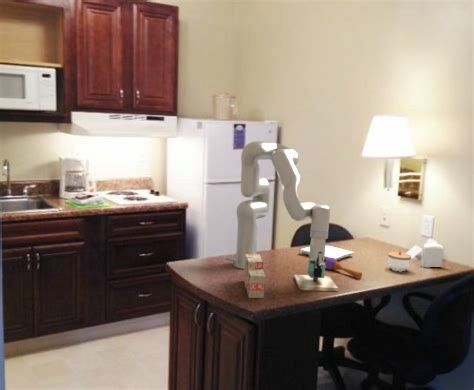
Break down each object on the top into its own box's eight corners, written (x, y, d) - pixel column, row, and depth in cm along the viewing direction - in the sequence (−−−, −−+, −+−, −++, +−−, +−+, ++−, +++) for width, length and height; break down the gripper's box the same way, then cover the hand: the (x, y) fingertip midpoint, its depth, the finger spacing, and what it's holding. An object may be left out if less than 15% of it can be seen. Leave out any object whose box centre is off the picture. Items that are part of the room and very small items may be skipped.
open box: (310, 277, 213) (311, 264, 212) (307, 273, 219) (308, 260, 218) (324, 278, 214) (325, 264, 213) (321, 274, 219) (322, 260, 219)
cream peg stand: (299, 289, 209) (301, 267, 207) (293, 277, 224) (295, 257, 223) (337, 291, 209) (339, 269, 208) (329, 279, 225) (330, 258, 224)
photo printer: (422, 267, 254) (425, 244, 252) (419, 265, 258) (422, 242, 256) (442, 268, 253) (445, 245, 252) (439, 266, 258) (442, 243, 256)
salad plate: (354, 257, 267) (354, 251, 267) (334, 264, 251) (334, 257, 251) (320, 249, 281) (320, 243, 280) (299, 255, 265) (299, 249, 264)
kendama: (355, 272, 226) (322, 258, 241) (355, 283, 228) (322, 269, 242) (364, 268, 229) (330, 254, 244) (363, 279, 231) (330, 265, 246)
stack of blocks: (264, 298, 196) (266, 268, 194) (248, 298, 196) (250, 267, 194) (257, 281, 217) (259, 253, 215) (243, 280, 217) (245, 253, 215)
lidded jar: (382, 266, 251) (384, 248, 249) (402, 266, 253) (404, 248, 252) (393, 273, 240) (395, 254, 239) (413, 273, 243) (415, 254, 241)
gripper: (306, 229, 222) (303, 268, 225) (314, 238, 205) (311, 280, 208) (323, 229, 222) (320, 268, 225) (332, 238, 205) (328, 281, 208)
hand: (315, 274), depth 216 cm, fingers closed on open box, 5 cm apart
